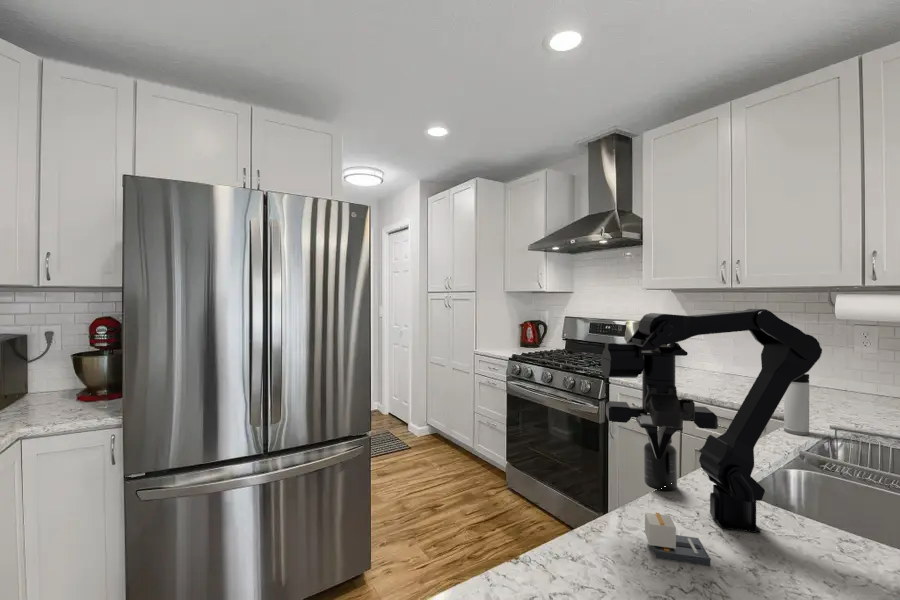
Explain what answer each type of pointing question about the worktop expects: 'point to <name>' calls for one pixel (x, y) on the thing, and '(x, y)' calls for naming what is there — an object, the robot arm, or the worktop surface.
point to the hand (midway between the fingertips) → (658, 458)
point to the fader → (660, 530)
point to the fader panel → (684, 551)
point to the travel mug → (797, 406)
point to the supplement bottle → (660, 468)
